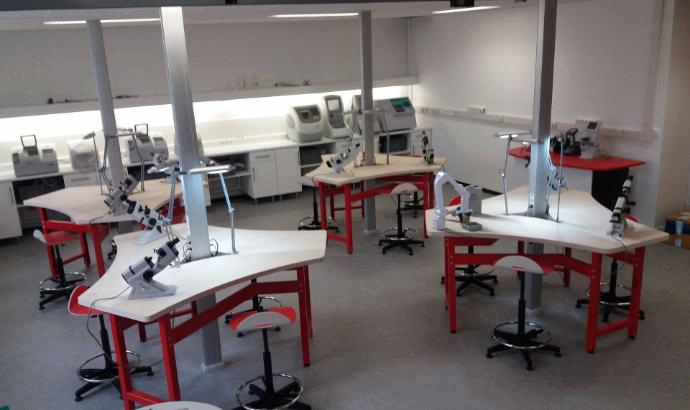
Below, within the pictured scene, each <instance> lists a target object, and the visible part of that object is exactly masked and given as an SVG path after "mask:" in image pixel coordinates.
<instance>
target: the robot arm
mask: <svg viewBox="0 0 690 410" xmlns="http://www.w3.org/2000/svg"><path fill="white" fill-rule="evenodd" d="M447 182H449V184H451V185H452V186H453V187H454V190H455V191H456V192H457V193H458V194H459V196H460V205H461V210H460V211H456V214H458V216H457V217H458V220H459V223H460V222H461V223H462V219H463V216H464V215H463V214H462V213H466V216H468V217H469V218H470V219H471V216H472V214H471V212H473V210H472V209H470V210H468V203H469V197H470V193H469V191H466V188H467V187H464V185H463V184H460V183H458V182H457V181H456V180H455V179H454V178H453V176H451V175H450V174H448V173H447V172H444V171H439V172H437V173H436V174H435V179H434V183H433V185H434V186H433V187H434V194H435V203H436V205H435V207H434V208H435V209H434V214H435V217H433V218H432V226H431V228H433V229H434V230H436V231H439V230H446V229H448V226H447V227H446V217H447V216H448V215H447V211H446V210H447V208H446V207H445V205H444V195H443V185H444V184H445V183H447Z"/></svg>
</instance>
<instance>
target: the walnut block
mask: <svg viewBox="0 0 690 410" xmlns="http://www.w3.org/2000/svg"><path fill="white" fill-rule="evenodd" d="M469 222H470V221H469V217H468V216H464V215H463V219H462V223H469ZM462 223H461V222H460V221H459V224H460V225H462Z"/></svg>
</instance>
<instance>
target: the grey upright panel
mask: <svg viewBox="0 0 690 410" xmlns="http://www.w3.org/2000/svg"><path fill="white" fill-rule="evenodd" d="M465 188H466V191H469V193H470V197H469V203H468V210H470V209H472V210H473V212H471V215H482V209H483V208H482V205H483V204H482V203H483V186H482V187H480V186H478V187H476V186H475V184H470V185H468V186H465Z"/></svg>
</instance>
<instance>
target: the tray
mask: <svg viewBox="0 0 690 410" xmlns="http://www.w3.org/2000/svg"><path fill="white" fill-rule="evenodd" d="M461 228H462V229H464V230H465V231H468V232H472V231H479V229H480V230H483V224H481V223H479V222H476V221H469V223H462V224H461Z"/></svg>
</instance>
